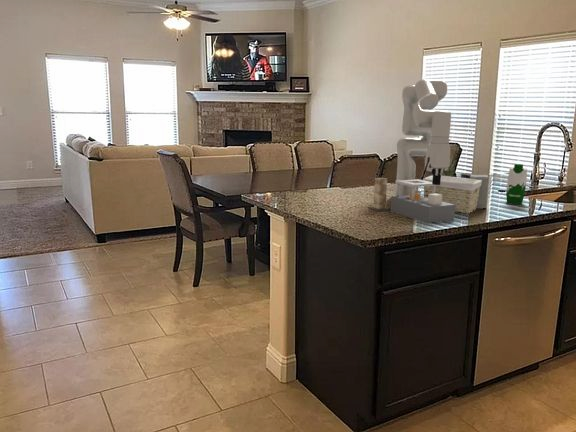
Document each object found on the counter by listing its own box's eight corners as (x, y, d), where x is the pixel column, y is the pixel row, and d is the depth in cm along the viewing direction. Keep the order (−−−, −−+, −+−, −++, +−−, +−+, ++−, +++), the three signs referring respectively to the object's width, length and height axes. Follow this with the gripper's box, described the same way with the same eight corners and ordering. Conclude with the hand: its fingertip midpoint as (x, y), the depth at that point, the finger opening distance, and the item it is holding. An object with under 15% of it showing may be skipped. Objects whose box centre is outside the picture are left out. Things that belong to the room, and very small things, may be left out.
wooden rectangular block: (380, 206, 241) (382, 177, 238) (385, 208, 237) (387, 178, 234) (373, 207, 239) (375, 177, 236) (378, 209, 235) (380, 179, 232)
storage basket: (480, 209, 242) (483, 179, 239) (471, 215, 229) (474, 183, 226) (431, 203, 255) (433, 174, 252) (419, 208, 242) (422, 177, 239)
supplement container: (478, 198, 273) (480, 175, 270) (457, 196, 276) (459, 174, 274) (478, 195, 283) (480, 173, 280) (458, 193, 286) (460, 172, 283)
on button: (427, 209, 218) (428, 193, 217) (434, 209, 220) (435, 193, 218) (433, 211, 215) (434, 195, 213) (440, 211, 216) (442, 194, 215)
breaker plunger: (406, 210, 231) (407, 193, 229) (414, 210, 233) (415, 193, 231) (413, 213, 226) (414, 195, 225) (421, 212, 228) (422, 194, 227)
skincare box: (485, 206, 249) (488, 174, 245) (486, 209, 242) (489, 176, 239) (467, 205, 251) (470, 173, 248) (467, 208, 245) (470, 175, 241)
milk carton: (504, 203, 258) (509, 164, 254) (505, 200, 266) (509, 162, 262) (523, 205, 255) (528, 165, 250) (523, 202, 263) (528, 163, 258)
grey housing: (390, 211, 234) (392, 180, 231) (414, 209, 240) (416, 178, 236) (428, 223, 211) (430, 188, 208) (453, 220, 217) (457, 187, 214)
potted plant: (436, 187, 306) (439, 146, 301) (452, 188, 305) (456, 147, 299) (438, 190, 296) (442, 147, 291) (455, 190, 295) (459, 148, 290)
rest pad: (381, 207, 243) (381, 206, 243) (389, 210, 237) (389, 208, 236) (368, 208, 240) (368, 207, 240) (377, 211, 234) (377, 209, 234)
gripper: (447, 140, 217) (443, 182, 221) (419, 140, 211) (416, 184, 215) (459, 141, 211) (456, 185, 215) (431, 141, 204) (428, 186, 208)
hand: (436, 184), depth 215 cm, fingers closed
